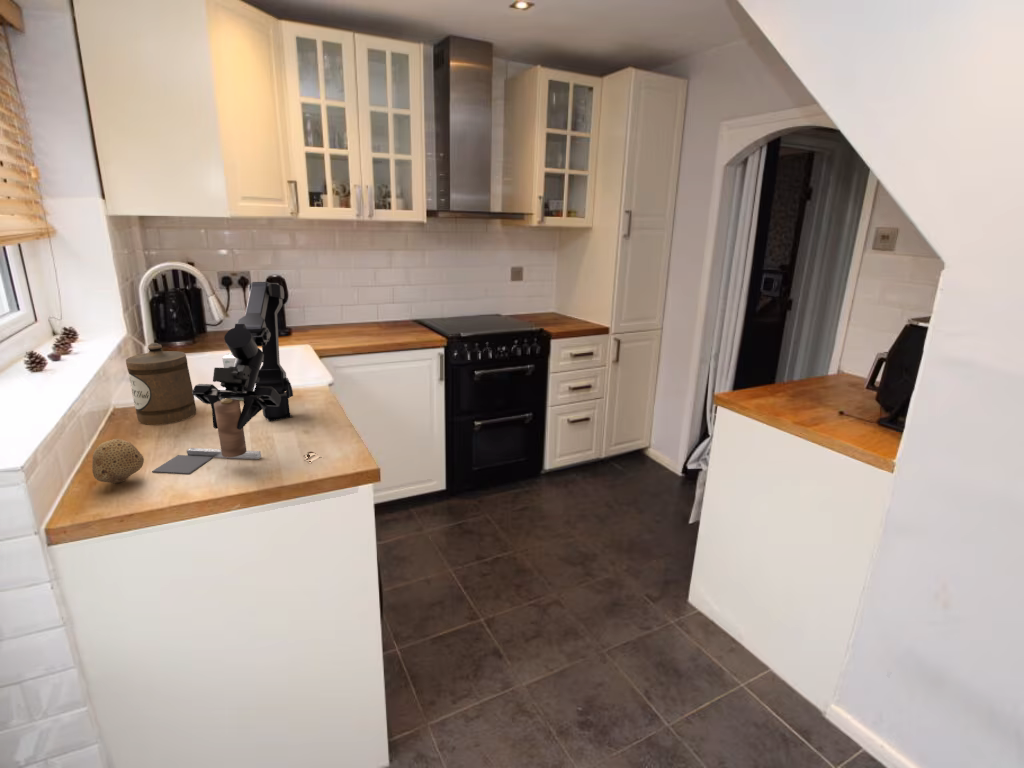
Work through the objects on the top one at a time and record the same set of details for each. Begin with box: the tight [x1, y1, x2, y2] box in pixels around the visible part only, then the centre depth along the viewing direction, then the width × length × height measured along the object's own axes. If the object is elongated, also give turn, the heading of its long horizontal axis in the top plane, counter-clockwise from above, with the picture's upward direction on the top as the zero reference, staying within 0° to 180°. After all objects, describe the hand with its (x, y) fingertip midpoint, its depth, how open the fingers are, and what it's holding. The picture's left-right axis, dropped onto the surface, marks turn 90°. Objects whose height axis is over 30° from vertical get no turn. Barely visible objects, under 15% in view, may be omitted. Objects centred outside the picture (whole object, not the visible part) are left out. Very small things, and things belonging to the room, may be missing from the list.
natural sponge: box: [91, 438, 145, 484], centre depth 118 cm, size 9×9×10 cm
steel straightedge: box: [186, 447, 262, 460], centre depth 132 cm, size 18×2×2 cm, turn 86°
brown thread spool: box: [214, 398, 248, 457], centre depth 124 cm, size 5×5×13 cm
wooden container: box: [125, 342, 197, 426], centre depth 155 cm, size 15×15×22 cm
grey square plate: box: [151, 454, 214, 475], centre depth 128 cm, size 9×9×1 cm
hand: (226, 428), depth 123 cm, fingers closed on brown thread spool, 5 cm apart
